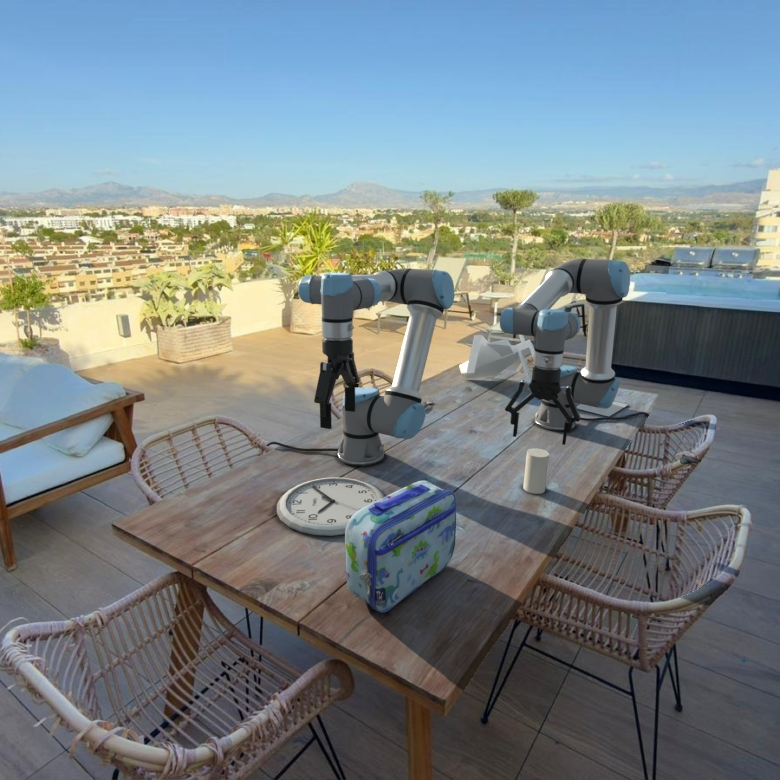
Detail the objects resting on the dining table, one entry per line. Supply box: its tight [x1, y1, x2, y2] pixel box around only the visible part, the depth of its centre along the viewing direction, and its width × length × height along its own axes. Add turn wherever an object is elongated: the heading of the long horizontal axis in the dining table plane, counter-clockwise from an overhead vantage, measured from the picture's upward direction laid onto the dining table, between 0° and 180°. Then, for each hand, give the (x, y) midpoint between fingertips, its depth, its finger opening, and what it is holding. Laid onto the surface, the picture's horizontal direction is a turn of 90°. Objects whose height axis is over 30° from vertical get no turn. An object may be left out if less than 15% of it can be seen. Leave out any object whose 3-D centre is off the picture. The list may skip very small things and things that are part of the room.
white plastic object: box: [458, 334, 535, 383], centre depth 255 cm, size 37×45×31 cm
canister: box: [522, 447, 550, 495], centre depth 152 cm, size 6×6×12 cm
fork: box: [423, 396, 435, 409], centre depth 223 cm, size 3×16×2 cm, turn 160°
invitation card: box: [576, 400, 629, 417], centre depth 226 cm, size 21×1×15 cm
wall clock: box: [276, 476, 386, 537], centre depth 142 cm, size 30×2×30 cm
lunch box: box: [344, 480, 457, 614], centre depth 109 cm, size 26×11×21 cm, turn 135°
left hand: (338, 419), depth 134 cm, fingers open, 13 cm apart
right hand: (539, 439), depth 149 cm, fingers open, 13 cm apart
